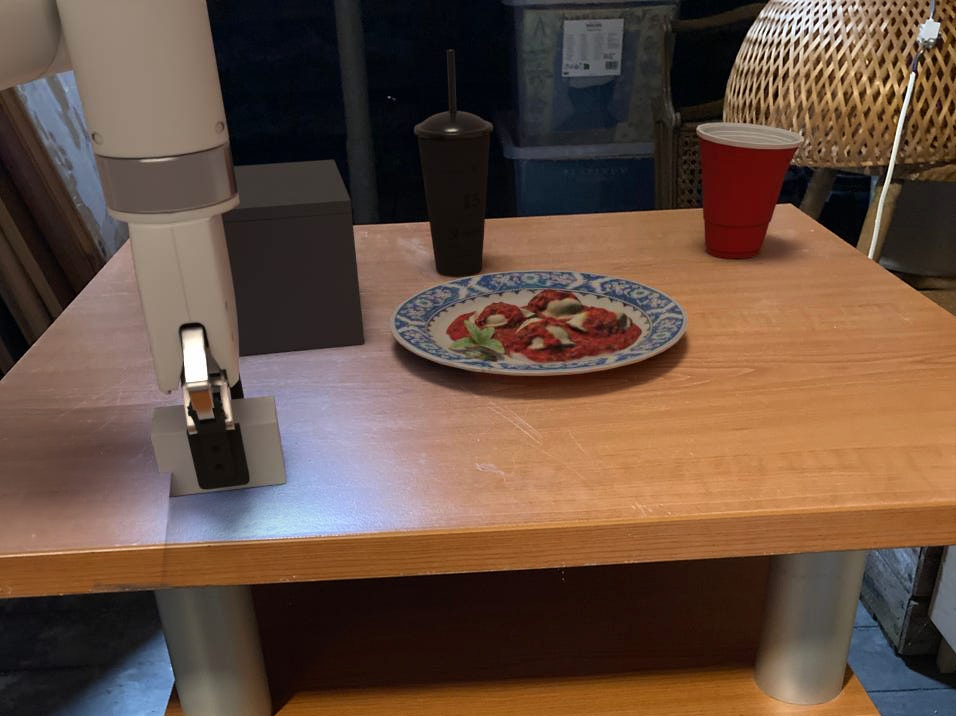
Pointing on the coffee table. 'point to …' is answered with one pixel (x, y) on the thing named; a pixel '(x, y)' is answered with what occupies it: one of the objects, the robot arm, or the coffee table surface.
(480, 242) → the drinking cup
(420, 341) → the ceramic plate
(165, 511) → the coffee table surface
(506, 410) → the coffee table surface
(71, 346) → the coffee table surface
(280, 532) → the coffee table surface
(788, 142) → the plastic cup
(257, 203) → the dark lidded cube box
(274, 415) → the light gray rectangular block
